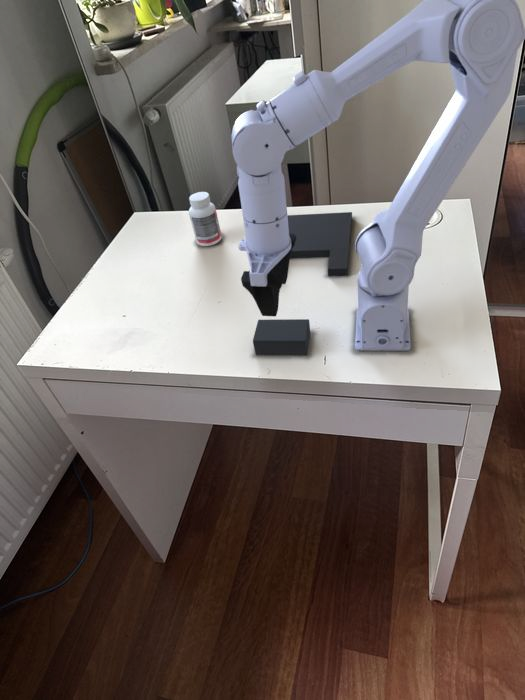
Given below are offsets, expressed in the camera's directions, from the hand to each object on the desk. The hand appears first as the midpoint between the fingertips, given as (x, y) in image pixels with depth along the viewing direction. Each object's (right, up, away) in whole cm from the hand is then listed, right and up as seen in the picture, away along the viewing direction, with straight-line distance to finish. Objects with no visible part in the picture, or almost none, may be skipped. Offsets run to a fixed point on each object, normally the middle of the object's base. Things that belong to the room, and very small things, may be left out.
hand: (274, 298), depth 76 cm
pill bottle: (-13, +15, +32) cm, 38 cm away
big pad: (+7, +12, +25) cm, 29 cm away
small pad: (+2, -7, +5) cm, 9 cm away
